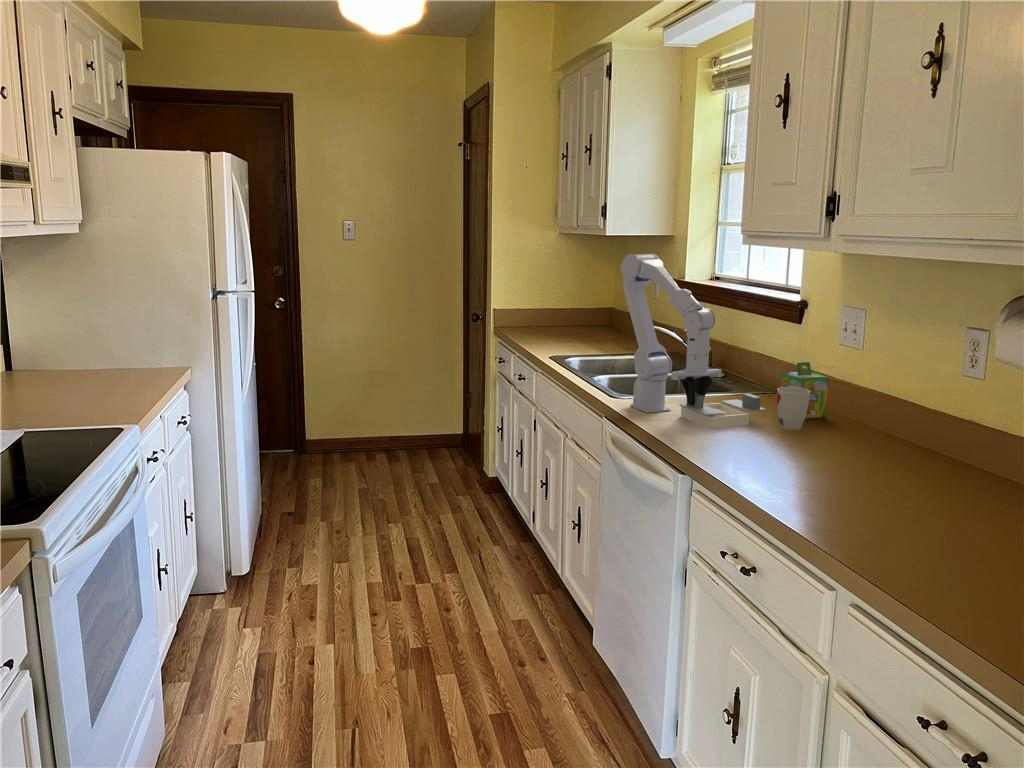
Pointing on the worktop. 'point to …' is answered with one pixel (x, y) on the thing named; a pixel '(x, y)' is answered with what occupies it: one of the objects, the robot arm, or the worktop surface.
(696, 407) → the flap near
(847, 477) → the worktop surface
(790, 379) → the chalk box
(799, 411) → the cup
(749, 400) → the flap far
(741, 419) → the carton
